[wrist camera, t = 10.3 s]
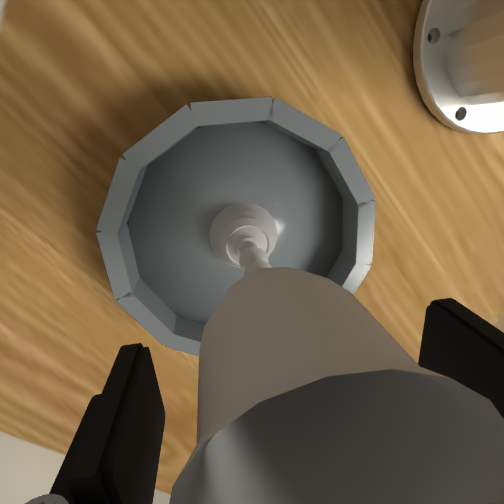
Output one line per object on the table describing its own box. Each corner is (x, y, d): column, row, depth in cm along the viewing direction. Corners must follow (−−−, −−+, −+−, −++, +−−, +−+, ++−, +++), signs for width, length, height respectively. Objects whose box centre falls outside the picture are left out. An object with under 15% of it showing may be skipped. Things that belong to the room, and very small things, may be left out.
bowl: (356, 95, 21) (383, 88, 18) (347, 316, 28) (366, 340, 25) (86, 116, 19) (62, 112, 16) (144, 347, 26) (136, 377, 23)
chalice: (174, 240, 22) (82, 562, 5) (236, 166, 21) (362, 286, 4) (250, 295, 24) (347, 633, 8) (309, 232, 23) (571, 472, 7)
